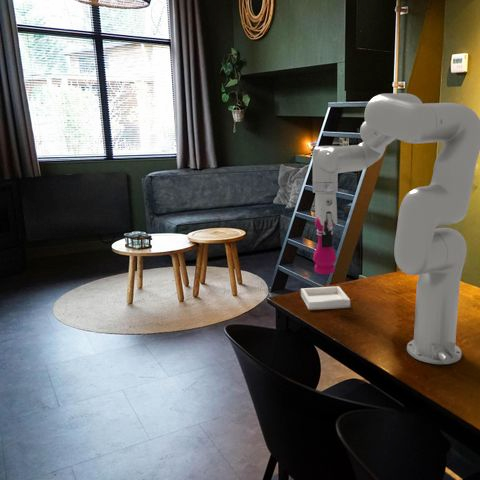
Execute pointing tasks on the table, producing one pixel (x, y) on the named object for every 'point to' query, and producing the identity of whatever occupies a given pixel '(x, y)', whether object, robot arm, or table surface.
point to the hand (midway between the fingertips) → (324, 244)
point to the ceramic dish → (325, 298)
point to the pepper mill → (323, 253)
